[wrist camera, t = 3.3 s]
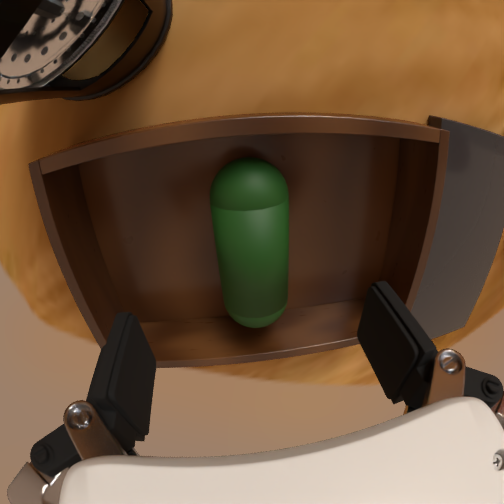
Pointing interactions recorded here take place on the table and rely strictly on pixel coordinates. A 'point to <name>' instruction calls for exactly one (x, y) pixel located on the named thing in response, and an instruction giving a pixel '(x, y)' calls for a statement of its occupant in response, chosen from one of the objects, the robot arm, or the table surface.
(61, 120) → the table surface
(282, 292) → the cucumber
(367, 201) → the brown wooden tray
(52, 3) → the french press
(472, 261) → the board
